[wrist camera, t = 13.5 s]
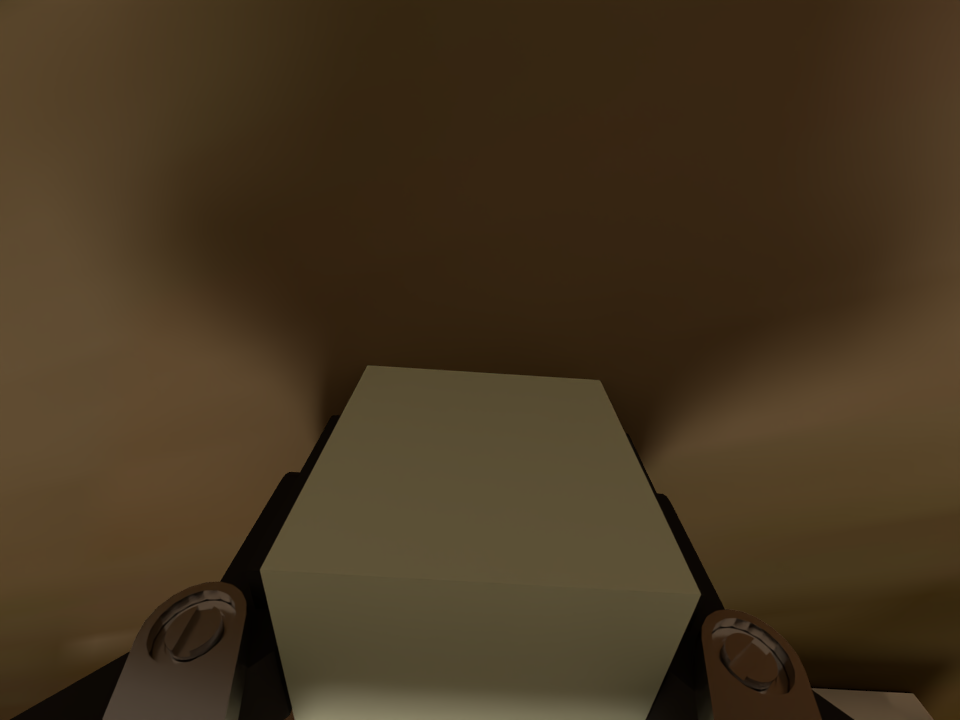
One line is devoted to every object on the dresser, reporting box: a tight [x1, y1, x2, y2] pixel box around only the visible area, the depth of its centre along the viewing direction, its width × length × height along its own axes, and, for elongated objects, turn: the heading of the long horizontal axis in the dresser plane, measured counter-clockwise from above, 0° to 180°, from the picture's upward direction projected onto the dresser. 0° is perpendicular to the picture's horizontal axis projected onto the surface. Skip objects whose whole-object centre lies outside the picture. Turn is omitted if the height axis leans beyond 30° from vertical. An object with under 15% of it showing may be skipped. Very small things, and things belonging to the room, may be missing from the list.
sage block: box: [260, 365, 701, 720], centre depth 8 cm, size 5×5×5 cm
